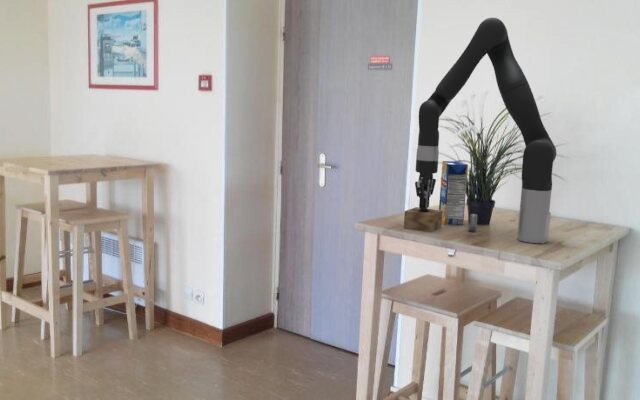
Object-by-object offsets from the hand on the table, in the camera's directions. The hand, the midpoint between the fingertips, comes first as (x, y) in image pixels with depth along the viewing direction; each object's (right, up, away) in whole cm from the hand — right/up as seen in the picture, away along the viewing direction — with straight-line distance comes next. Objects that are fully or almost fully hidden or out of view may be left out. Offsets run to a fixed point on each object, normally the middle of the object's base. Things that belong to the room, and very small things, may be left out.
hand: (423, 207), depth 217 cm
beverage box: (+12, -6, +13) cm, 19 cm away
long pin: (0, -4, +1) cm, 4 cm away
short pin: (+17, -8, -2) cm, 18 cm away
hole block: (0, -7, +1) cm, 7 cm away
